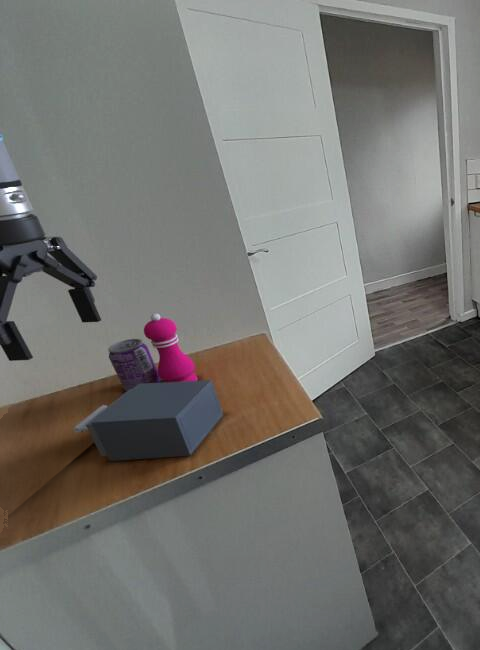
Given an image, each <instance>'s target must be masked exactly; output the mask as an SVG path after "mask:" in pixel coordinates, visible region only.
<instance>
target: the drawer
mask: <svg viewBox="0 0 480 650" xmlns="http://www.w3.org/2000/svg"><path fill="white" fill-rule="evenodd" d="M130 390H132V389H129V390H128V391H125V392H124V393H123V394H122V395H121V396H120V397H118V398H117V399H115V400H114V401H113V402H112V403H110V404H109V405H108V406H107V405H105V404H102V405H101V406H99V407H98V408H97V409H95V410H94V411H93V412H91V414H89V415H88V416H86V417H85V418H84V419H82V421H80V422H79V423H77V424H76V425H75V426H74V427H73V428H72V432H73V433H75V434H81V433H83V432H84V431H85V432H86V431H88V432H89V435H90V437H91V439H92V440H93V442H94V444H95V446H96V448H97V450H98V452H99V454H100V456H101V457H108V455H107V453H106V451H105V449H104V447H103V445H102V443H101V441H100V439H99V437H98V435H97V433H96V431H95V429H94V427H93V425H92V423H91V422H92V421H94V420H95V419H96V418H97V417H99V416H100V415H101V414H102V413H103V412H105V411H106V410H107V409H108V408H110V407H111V406H112V405H113V404H115V403H116V402H117V401H118V400H119V399H121V398H122V397H123V396H124V395H126V394H127V393H128V392H129V391H130Z"/></svg>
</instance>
